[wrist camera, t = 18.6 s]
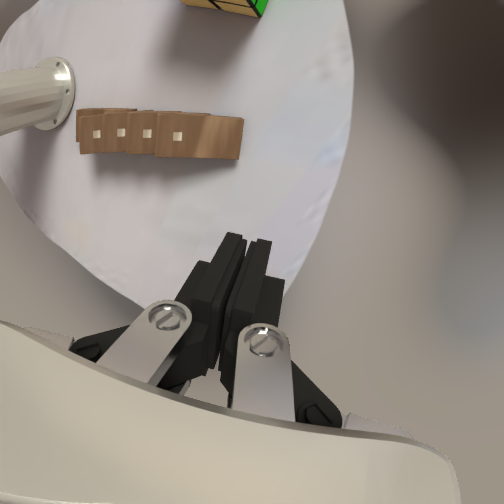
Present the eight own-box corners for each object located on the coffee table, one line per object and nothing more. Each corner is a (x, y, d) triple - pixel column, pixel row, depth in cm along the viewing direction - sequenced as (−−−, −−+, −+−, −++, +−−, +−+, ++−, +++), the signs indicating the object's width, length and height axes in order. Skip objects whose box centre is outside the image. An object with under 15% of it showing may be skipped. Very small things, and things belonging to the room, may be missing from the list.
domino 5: (235, 156, 36) (155, 153, 33) (241, 117, 34) (157, 113, 31) (238, 159, 35) (154, 157, 32) (244, 119, 32) (157, 115, 29)
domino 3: (178, 148, 37) (104, 149, 34) (181, 111, 34) (104, 112, 31) (179, 151, 36) (102, 152, 33) (182, 112, 33) (102, 114, 30)
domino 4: (205, 151, 37) (127, 151, 34) (209, 113, 34) (129, 112, 31) (207, 154, 35) (126, 154, 32) (211, 115, 33) (127, 113, 30)
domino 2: (152, 145, 37) (83, 151, 34) (153, 110, 34) (81, 116, 32) (152, 148, 36) (80, 154, 33) (152, 111, 33) (78, 118, 30)
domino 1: (135, 143, 37) (82, 139, 38) (137, 108, 35) (83, 108, 36) (129, 145, 36) (76, 142, 37) (130, 109, 33) (76, 110, 34)
